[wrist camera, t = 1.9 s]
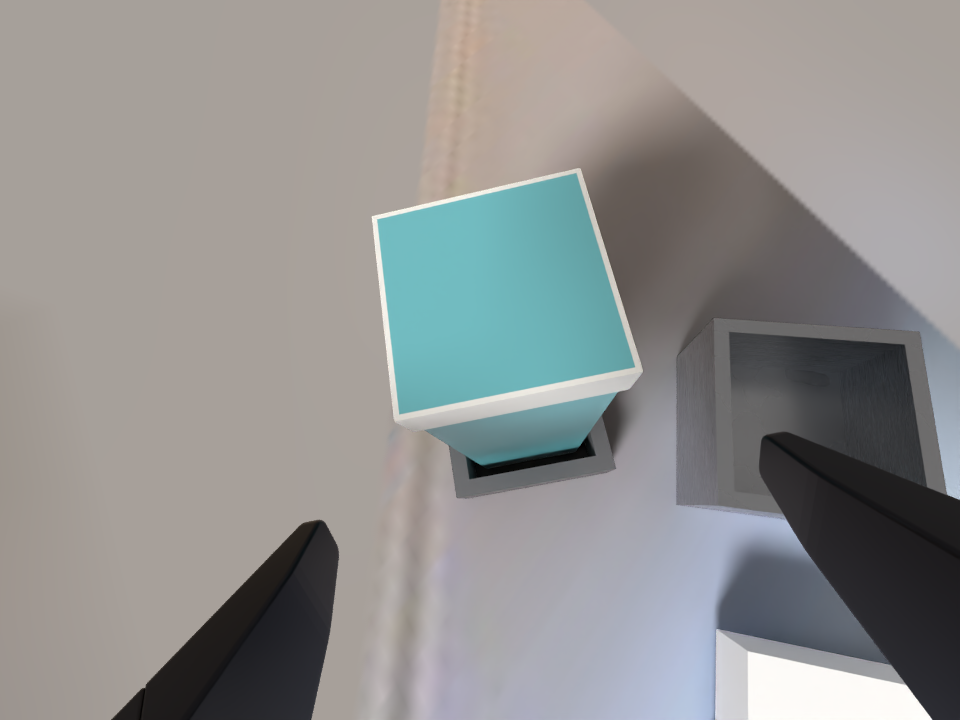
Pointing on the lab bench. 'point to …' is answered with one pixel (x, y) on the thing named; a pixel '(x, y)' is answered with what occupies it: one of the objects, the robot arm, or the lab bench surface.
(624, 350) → the plug
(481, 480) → the frame
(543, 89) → the lab bench surface
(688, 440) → the box
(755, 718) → the bracket
